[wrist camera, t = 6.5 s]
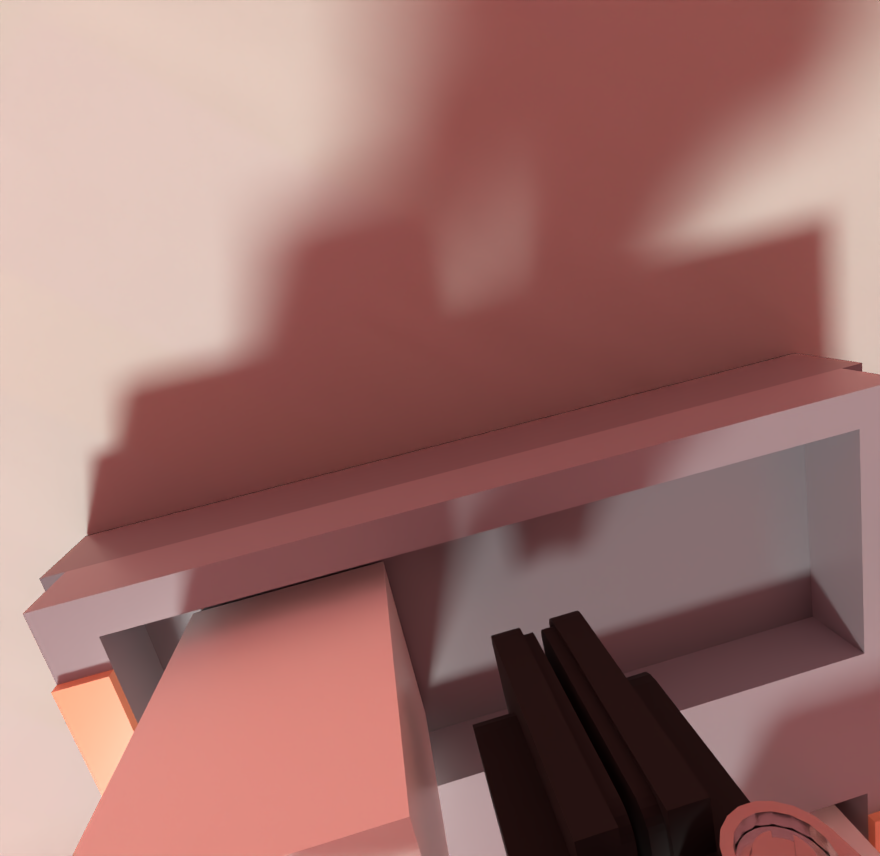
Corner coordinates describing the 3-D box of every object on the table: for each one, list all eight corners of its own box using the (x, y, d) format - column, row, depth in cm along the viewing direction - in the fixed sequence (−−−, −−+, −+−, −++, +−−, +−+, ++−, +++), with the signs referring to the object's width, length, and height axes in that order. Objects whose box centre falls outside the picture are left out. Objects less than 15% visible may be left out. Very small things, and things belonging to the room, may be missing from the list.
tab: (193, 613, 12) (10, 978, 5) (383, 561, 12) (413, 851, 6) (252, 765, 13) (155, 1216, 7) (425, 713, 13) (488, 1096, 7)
